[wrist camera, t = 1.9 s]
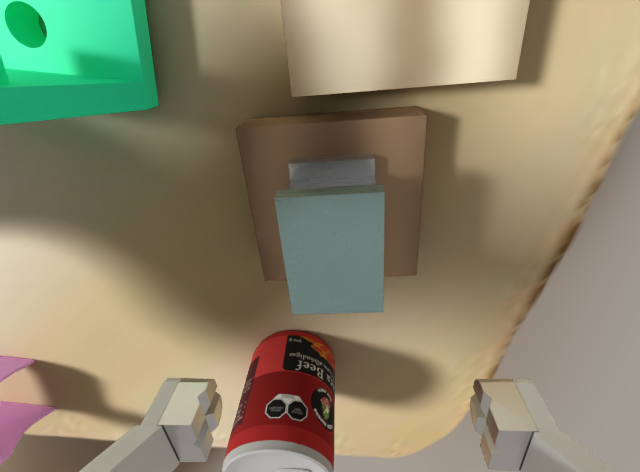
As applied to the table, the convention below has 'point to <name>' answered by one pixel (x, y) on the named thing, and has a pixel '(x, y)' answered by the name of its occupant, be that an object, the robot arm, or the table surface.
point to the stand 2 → (339, 140)
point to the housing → (333, 235)
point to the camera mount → (74, 59)
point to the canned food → (285, 408)
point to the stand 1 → (400, 43)
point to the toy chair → (16, 410)
